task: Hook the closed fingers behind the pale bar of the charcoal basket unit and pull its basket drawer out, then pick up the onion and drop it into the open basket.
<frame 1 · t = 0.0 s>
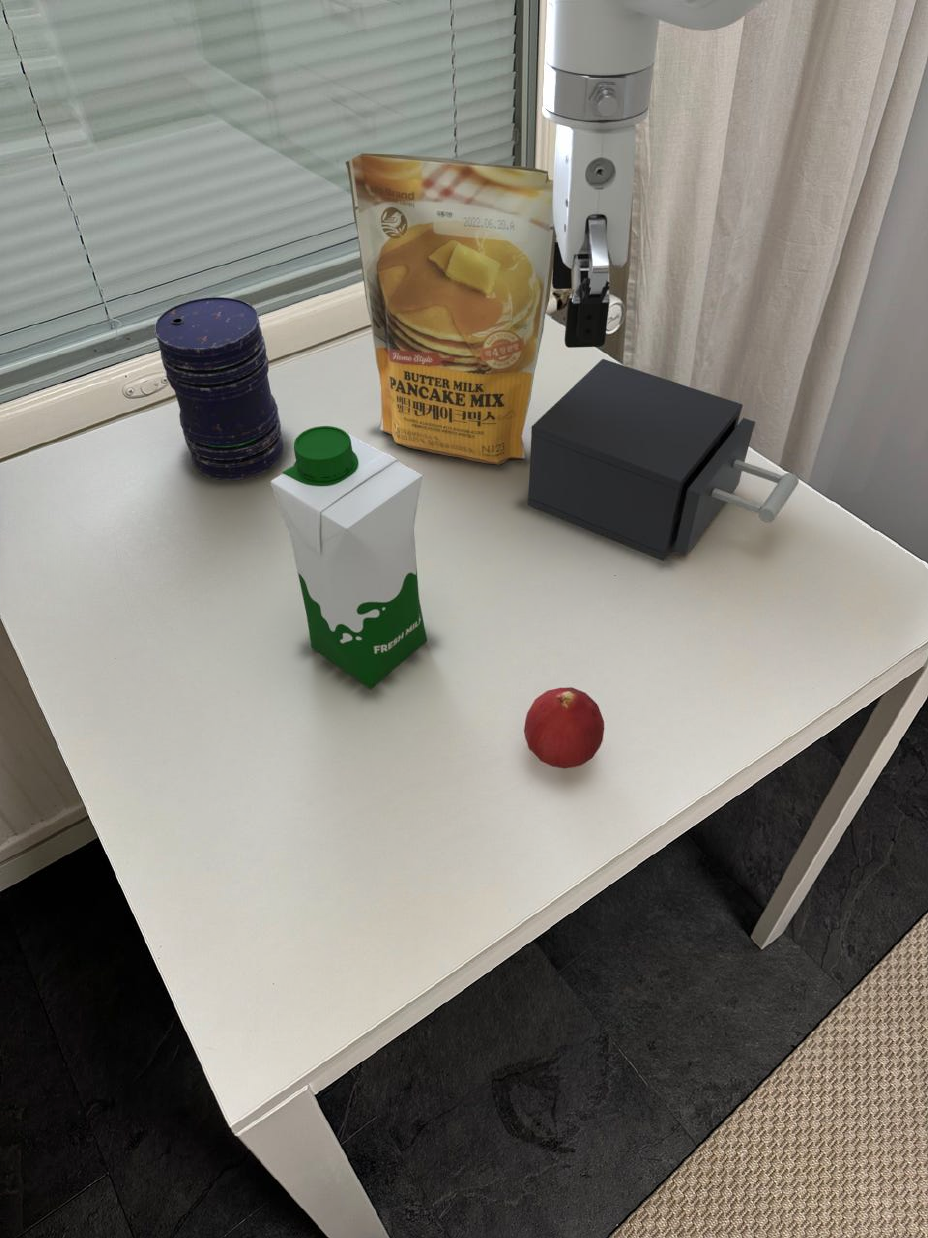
hand: (576, 314, 75), 19 cm above the table, tool pointing down, fingers open, 9 cm apart
onion: (560, 758, 68), on the table
cabinet: (626, 493, 89), on the table
milk carton: (370, 646, 76), on the table
pancake mix bag: (454, 440, 96), on the table
navy blue cylinder: (238, 453, 95), on the table
drawer: (682, 474, 84), point 5 cm above the table, slide at 0.5 cm
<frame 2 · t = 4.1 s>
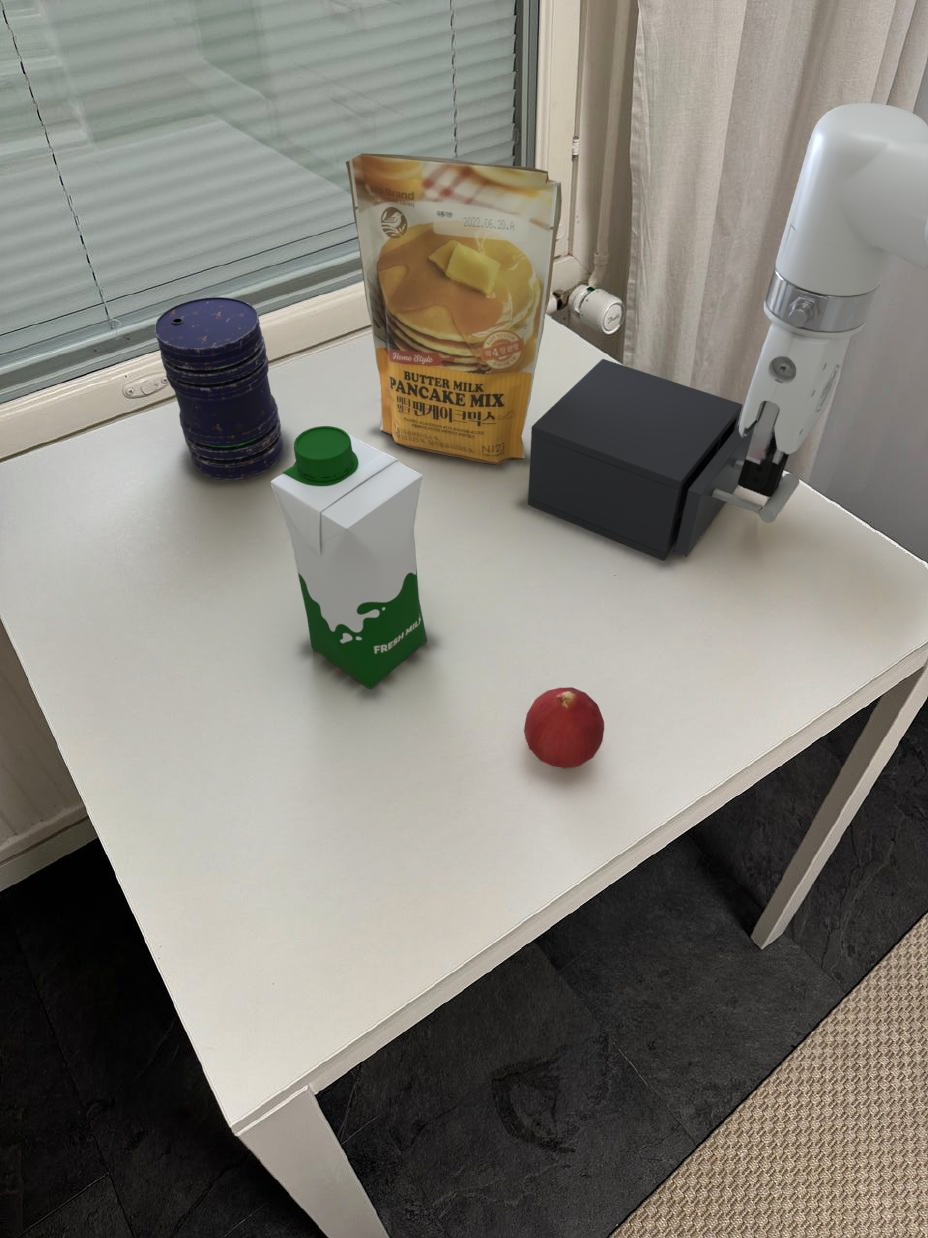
hand: (757, 486, 80), 6 cm above the table, tool pointing down, fingers closed
drawer: (683, 474, 84), point 5 cm above the table, slide at 0.6 cm, touching gripper
everything else where it was.
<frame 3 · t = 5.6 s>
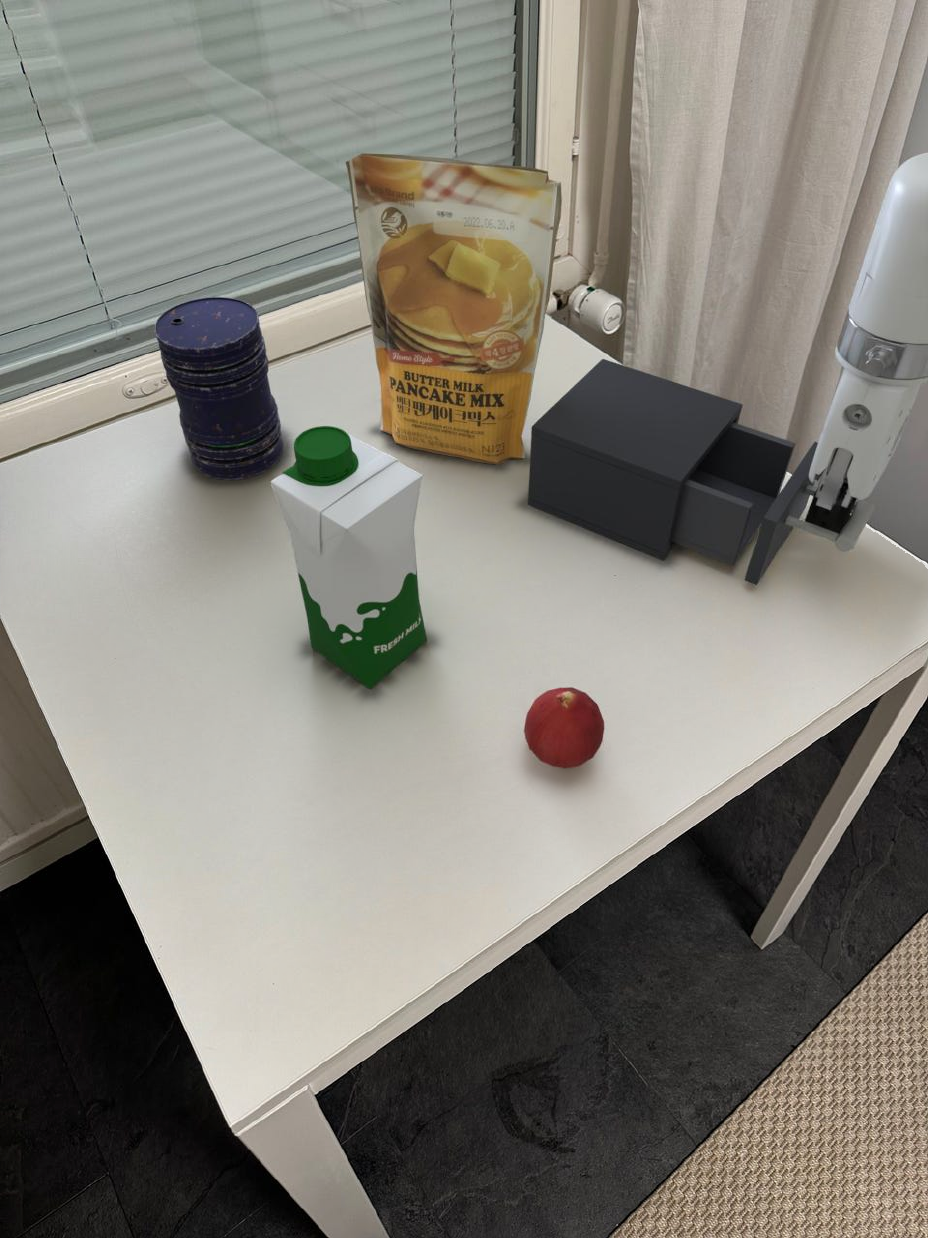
hand: (823, 529, 79), 4 cm above the table, tool pointing down, fingers closed
drawer: (751, 499, 81), point 5 cm above the table, slide at 7.3 cm, touching gripper
everything else where it was.
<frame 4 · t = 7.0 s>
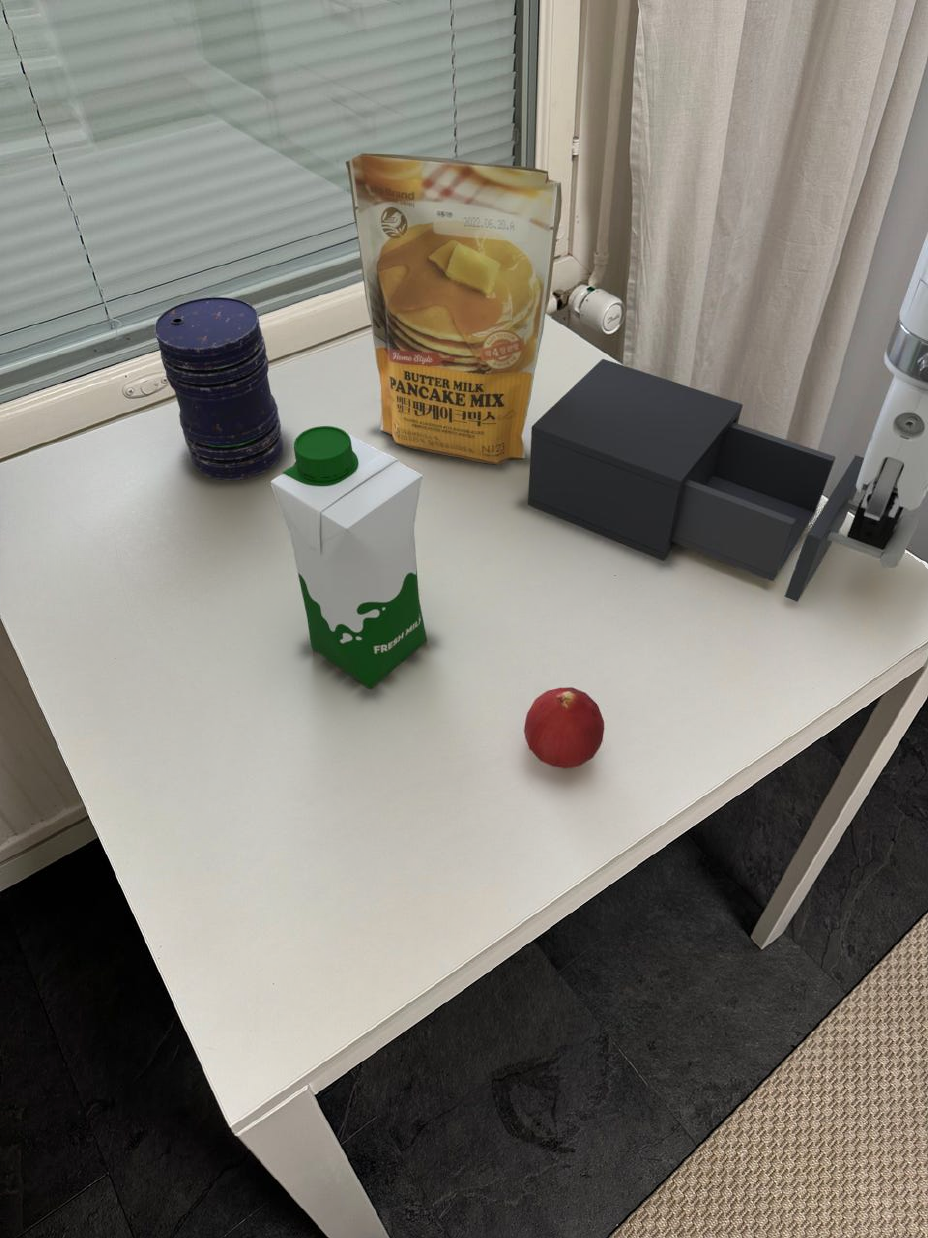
hand: (867, 539, 77), 5 cm above the table, tool pointing down, fingers closed
drawer: (791, 514, 80), point 5 cm above the table, slide at 11.0 cm, touching gripper
everything else where it was.
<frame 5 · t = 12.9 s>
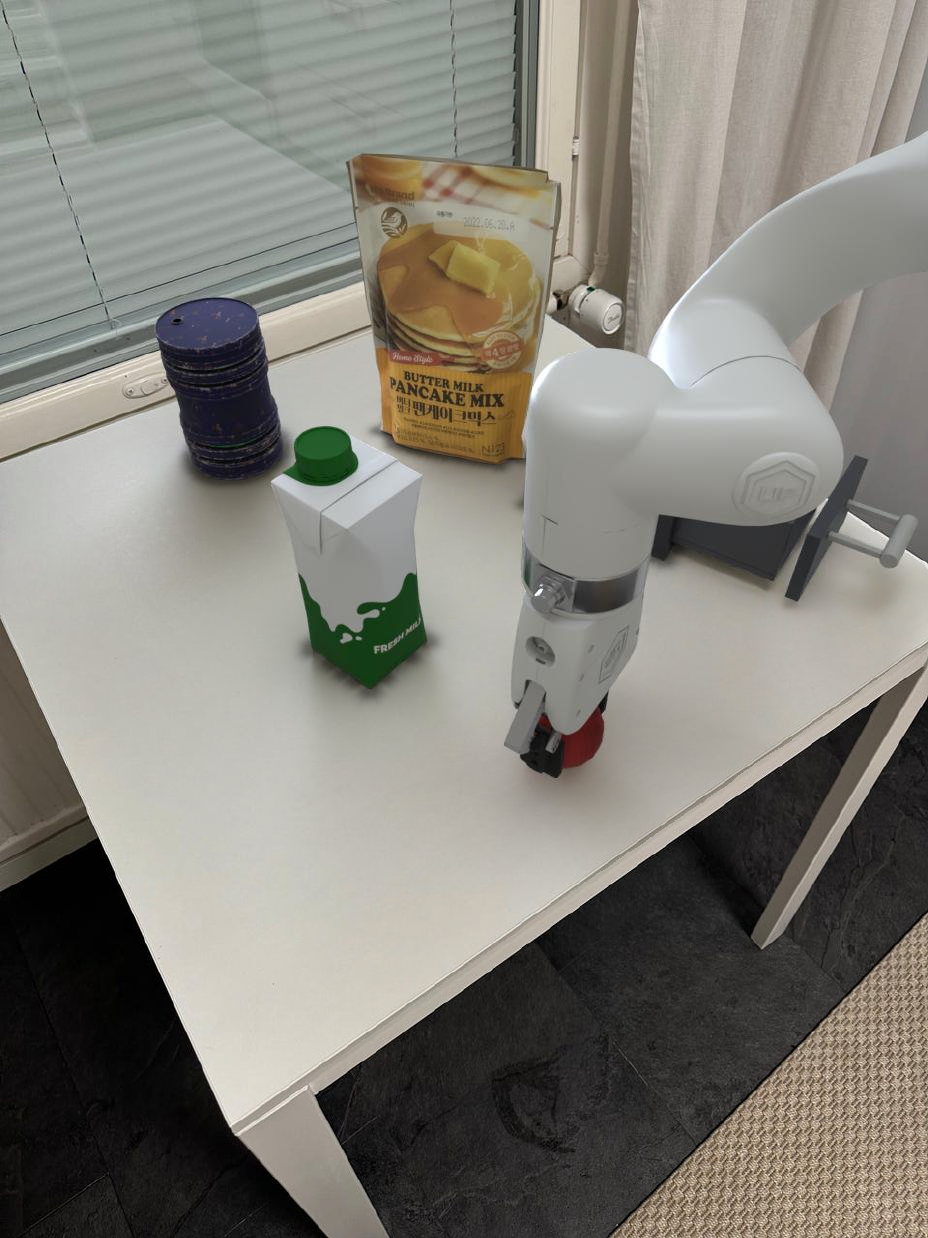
hand: (563, 733, 66), 3 cm above the table, tool pointing down, fingers closed on onion, 5 cm apart
onion: (560, 758, 68), on the table, touching gripper
drawer: (791, 514, 80), point 5 cm above the table, slide at 11.0 cm
everything else where it was.
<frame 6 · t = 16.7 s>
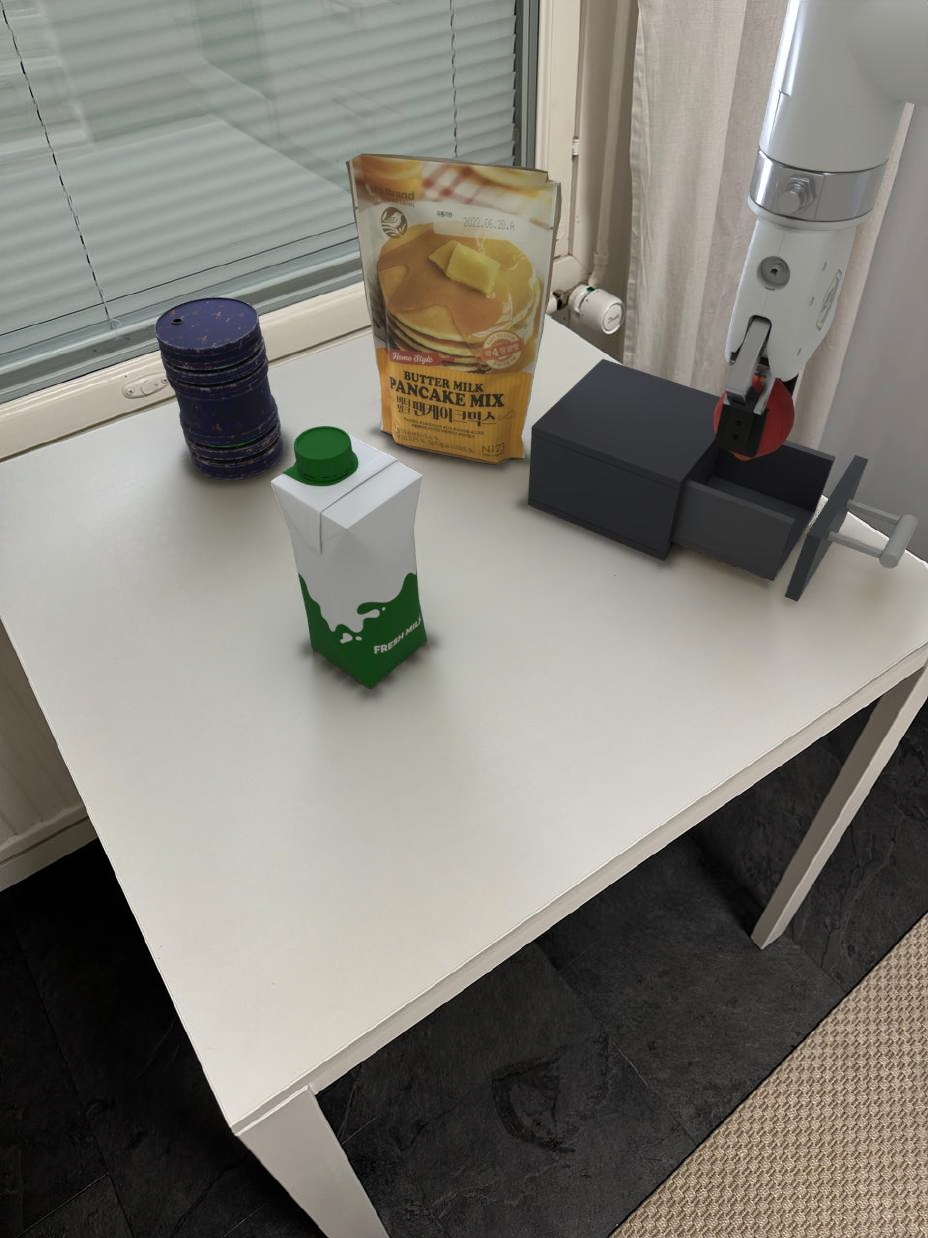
hand: (752, 425, 68), 17 cm above the table, tool pointing down, fingers closed on onion, 5 cm apart
onion: (742, 459, 70), point 14 cm above the table, touching gripper
everything else where it was.
when the fingers open (7 cm above the table, at t = 20.4 s): onion drops 2 cm, resting on drawer.
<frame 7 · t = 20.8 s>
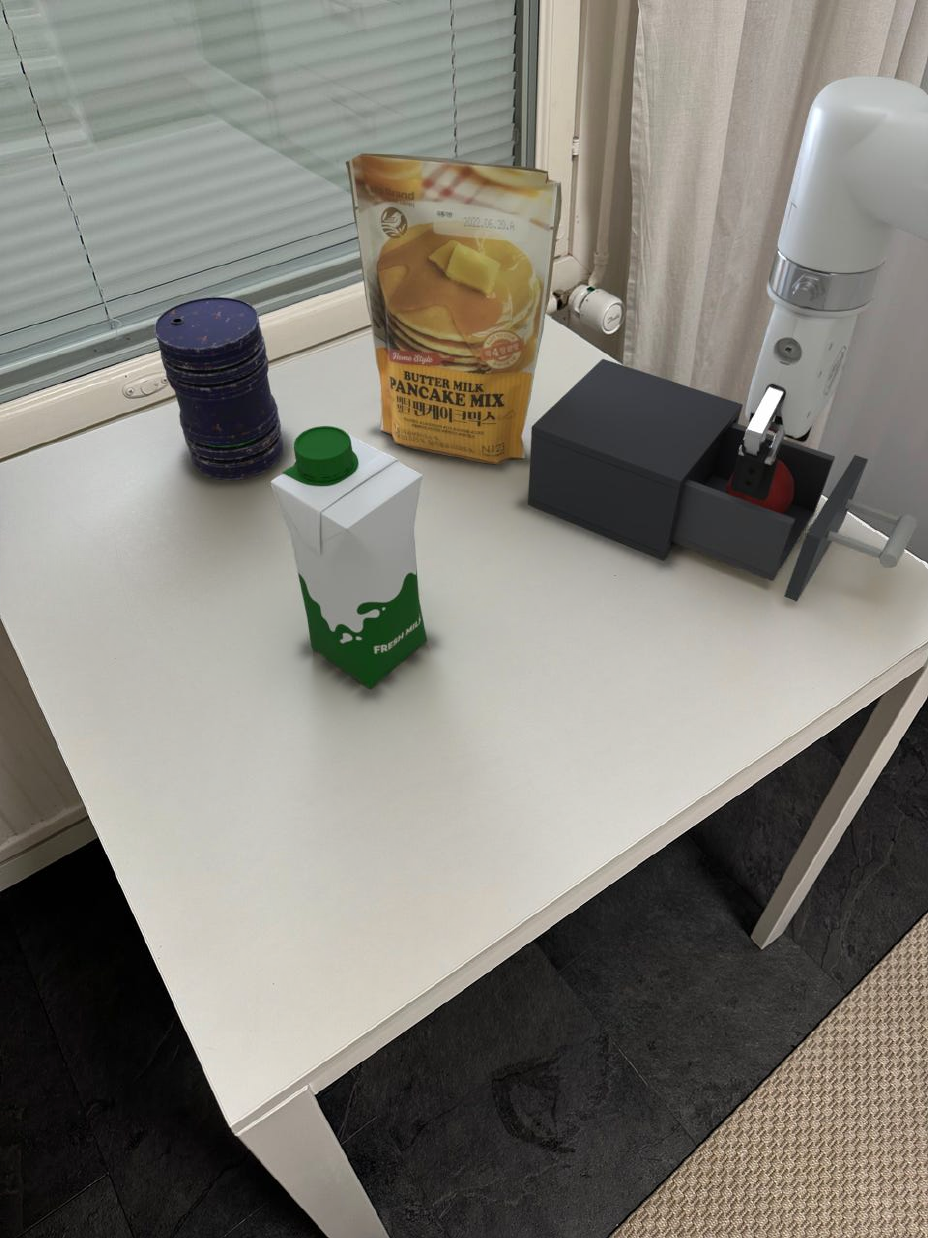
hand: (769, 463, 78), 9 cm above the table, tool pointing down, fingers open, 9 cm apart
onion: (750, 524, 83), point 2 cm above the table, touching drawer
drawer: (790, 514, 80), point 5 cm above the table, slide at 11.0 cm, touching onion
everything else where it was.
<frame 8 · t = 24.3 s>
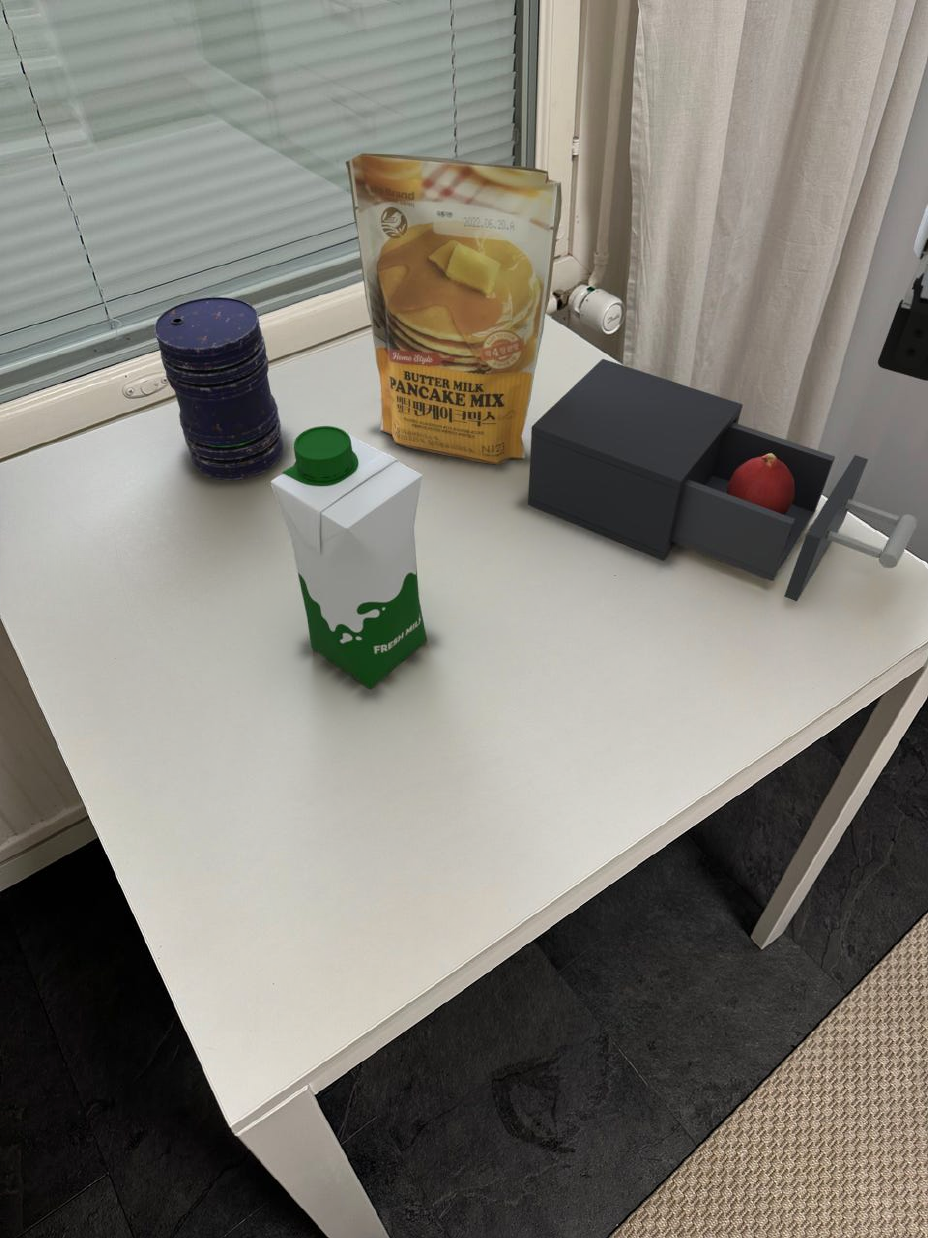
hand: (927, 335, 55), 28 cm above the table, tool pointing down, fingers open, 9 cm apart
nothing on the table moved.
at the end: drawer slide at 11.0 cm; onion inside the target area in the drawer (0.4 cm from its centre), point 1.9 cm above the cabinet's base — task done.
